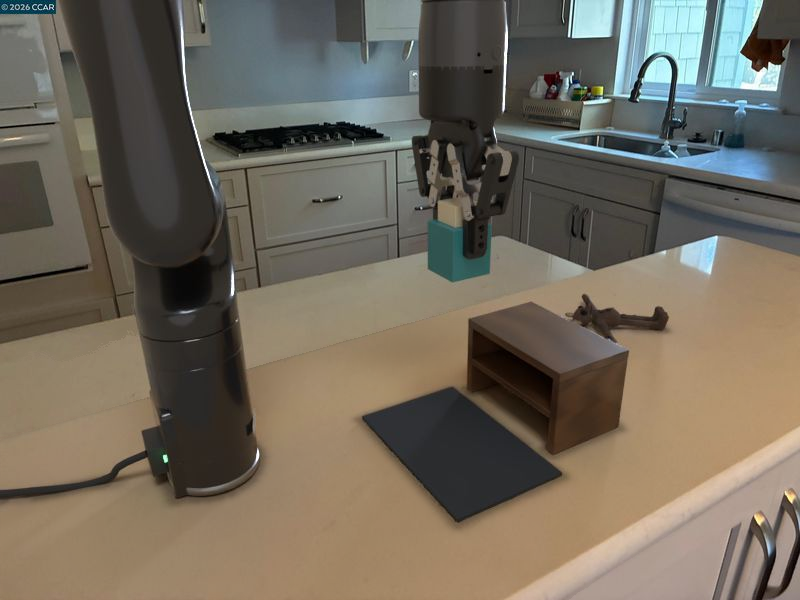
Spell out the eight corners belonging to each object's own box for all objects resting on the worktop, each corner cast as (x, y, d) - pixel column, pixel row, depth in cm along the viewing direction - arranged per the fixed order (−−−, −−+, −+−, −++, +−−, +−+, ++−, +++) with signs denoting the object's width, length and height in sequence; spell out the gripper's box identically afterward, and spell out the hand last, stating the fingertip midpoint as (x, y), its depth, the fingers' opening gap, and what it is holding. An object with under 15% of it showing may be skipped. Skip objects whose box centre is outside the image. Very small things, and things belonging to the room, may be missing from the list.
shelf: (552, 455, 66) (560, 374, 62) (466, 389, 79) (468, 318, 75) (618, 427, 71) (629, 349, 67) (526, 368, 83) (531, 301, 80)
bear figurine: (689, 334, 85) (584, 325, 85) (681, 361, 87) (578, 353, 87) (646, 286, 102) (559, 279, 102) (640, 310, 103) (554, 302, 103)
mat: (457, 522, 57) (457, 519, 57) (361, 418, 73) (361, 415, 73) (562, 475, 63) (562, 472, 63) (452, 388, 79) (452, 386, 79)
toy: (452, 282, 58) (453, 209, 55) (427, 269, 61) (427, 200, 58) (490, 273, 60) (492, 203, 57) (463, 261, 63) (465, 194, 60)
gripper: (384, 61, 57) (389, 238, 64) (476, 64, 45) (470, 280, 52) (451, 58, 60) (449, 227, 67) (552, 60, 49) (538, 263, 55)
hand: (458, 249), depth 59 cm, fingers closed on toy, 4 cm apart
